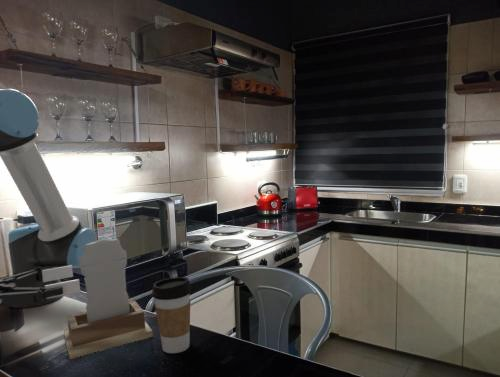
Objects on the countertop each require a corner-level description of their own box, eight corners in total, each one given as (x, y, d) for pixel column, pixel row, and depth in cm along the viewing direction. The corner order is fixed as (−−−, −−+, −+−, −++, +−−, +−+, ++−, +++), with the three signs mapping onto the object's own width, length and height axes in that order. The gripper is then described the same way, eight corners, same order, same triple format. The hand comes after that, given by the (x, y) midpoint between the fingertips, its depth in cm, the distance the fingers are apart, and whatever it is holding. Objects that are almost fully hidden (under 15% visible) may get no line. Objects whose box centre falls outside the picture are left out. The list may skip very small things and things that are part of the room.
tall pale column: (130, 320, 102) (122, 234, 100) (135, 326, 99) (127, 237, 96) (85, 333, 96) (76, 241, 94) (88, 339, 93) (79, 244, 91)
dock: (64, 335, 99) (61, 313, 99) (138, 317, 108) (136, 296, 108) (69, 359, 87) (67, 335, 87) (152, 336, 96) (150, 314, 95)
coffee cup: (187, 357, 85) (182, 287, 84) (150, 355, 87) (144, 287, 86) (200, 338, 93) (195, 275, 92) (165, 337, 95) (160, 274, 94)
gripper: (-29, 298, 94) (71, 280, 104) (-43, 339, 72) (84, 310, 83) (-33, 267, 93) (68, 251, 104) (-48, 298, 72) (81, 274, 82)
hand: (75, 277), depth 93 cm, fingers open, 13 cm apart
